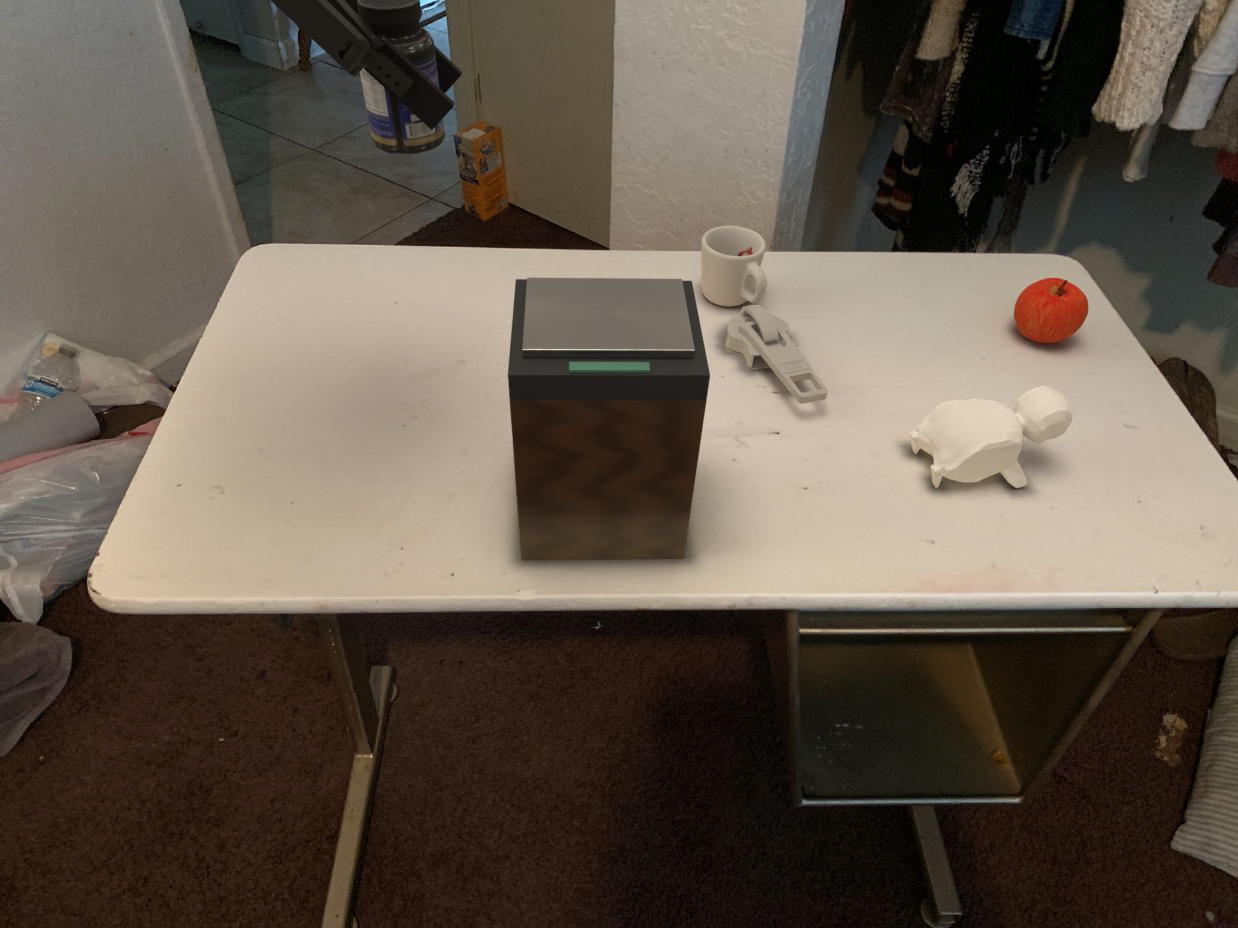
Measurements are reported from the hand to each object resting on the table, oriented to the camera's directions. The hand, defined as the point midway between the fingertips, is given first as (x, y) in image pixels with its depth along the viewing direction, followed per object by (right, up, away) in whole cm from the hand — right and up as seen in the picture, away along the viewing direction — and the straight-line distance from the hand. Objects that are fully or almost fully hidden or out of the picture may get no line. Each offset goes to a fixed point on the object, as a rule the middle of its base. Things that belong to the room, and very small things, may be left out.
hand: (447, 100), depth 69 cm
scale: (+13, -21, -1) cm, 24 cm away
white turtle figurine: (+52, -30, +19) cm, 63 cm away
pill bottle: (-4, -3, +2) cm, 5 cm away
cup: (+29, -9, +39) cm, 50 cm away
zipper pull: (+32, -19, +30) cm, 48 cm away
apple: (+67, -14, +36) cm, 78 cm away
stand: (+12, -34, +13) cm, 39 cm away
